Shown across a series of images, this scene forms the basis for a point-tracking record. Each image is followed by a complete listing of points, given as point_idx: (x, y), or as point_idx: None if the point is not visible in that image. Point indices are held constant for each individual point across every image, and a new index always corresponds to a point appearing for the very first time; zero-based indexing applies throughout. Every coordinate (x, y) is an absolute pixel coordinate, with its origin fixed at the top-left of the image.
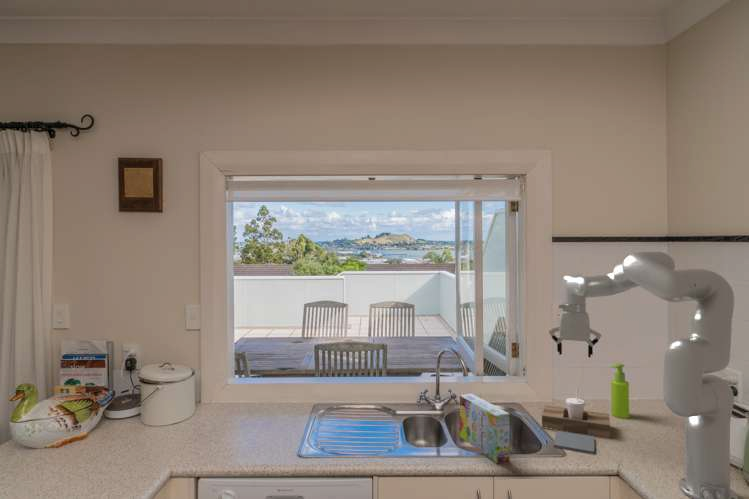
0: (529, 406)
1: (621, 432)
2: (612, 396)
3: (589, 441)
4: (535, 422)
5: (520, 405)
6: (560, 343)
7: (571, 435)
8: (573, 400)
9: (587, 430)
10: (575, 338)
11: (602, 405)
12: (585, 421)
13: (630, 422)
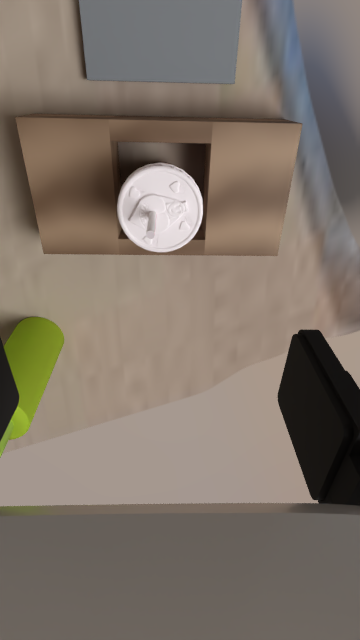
0: (309, 311)
1: (10, 196)
2: (41, 369)
3: (98, 2)
4: (305, 169)
5: (338, 309)
6: (355, 459)
7: (174, 49)
8: (168, 208)
9: (113, 116)
10: (84, 561)
11: (96, 388)
12: (117, 125)
13: (3, 295)
